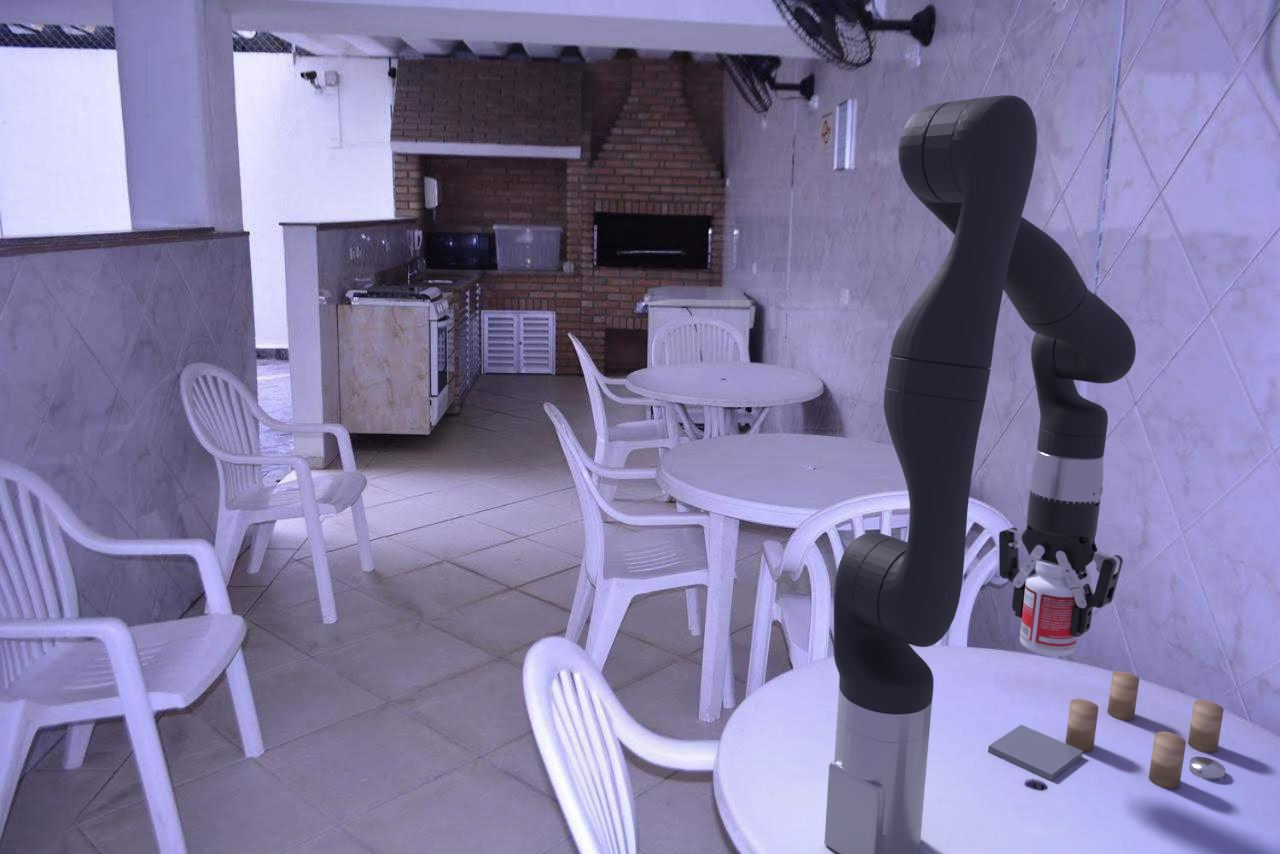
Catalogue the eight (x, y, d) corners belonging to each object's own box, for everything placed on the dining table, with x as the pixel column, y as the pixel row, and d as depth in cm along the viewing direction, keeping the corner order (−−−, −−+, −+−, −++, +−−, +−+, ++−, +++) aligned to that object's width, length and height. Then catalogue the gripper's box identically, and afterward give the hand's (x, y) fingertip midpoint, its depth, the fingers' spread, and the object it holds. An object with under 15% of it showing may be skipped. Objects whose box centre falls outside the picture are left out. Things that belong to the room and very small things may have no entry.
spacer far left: (1211, 756, 114) (1218, 715, 113) (1183, 745, 116) (1189, 705, 115) (1221, 747, 116) (1227, 707, 115) (1193, 736, 118) (1199, 697, 117)
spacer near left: (1173, 792, 106) (1179, 749, 105) (1144, 779, 109) (1150, 737, 108) (1184, 782, 108) (1190, 739, 107) (1155, 770, 111) (1161, 728, 110)
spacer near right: (1086, 755, 114) (1091, 714, 113) (1060, 743, 116) (1065, 704, 115) (1098, 746, 116) (1103, 706, 115) (1072, 735, 118) (1077, 696, 117)
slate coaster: (1050, 780, 108) (1051, 774, 108) (988, 751, 114) (988, 745, 114) (1082, 756, 113) (1082, 751, 113) (1020, 730, 119) (1021, 724, 119)
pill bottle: (1085, 651, 110) (1096, 563, 107) (1055, 663, 106) (1066, 572, 104) (1038, 632, 115) (1048, 548, 113) (1008, 643, 111) (1017, 556, 109)
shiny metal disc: (1217, 786, 108) (1218, 777, 108) (1184, 772, 111) (1185, 763, 110) (1228, 775, 110) (1229, 766, 110) (1195, 762, 113) (1196, 753, 113)
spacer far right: (1128, 723, 121) (1133, 684, 120) (1103, 713, 124) (1108, 675, 123) (1138, 715, 123) (1143, 677, 122) (1113, 705, 126) (1118, 668, 125)
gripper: (990, 482, 110) (977, 613, 113) (1114, 510, 99) (1095, 655, 102) (1022, 472, 114) (1008, 599, 118) (1144, 499, 104) (1125, 637, 107)
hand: (1049, 624), depth 110 cm, fingers closed on pill bottle, 6 cm apart
